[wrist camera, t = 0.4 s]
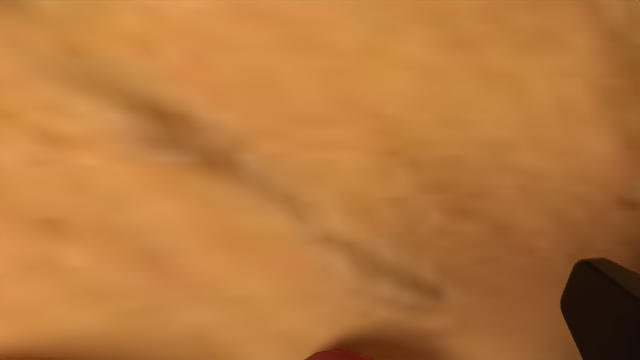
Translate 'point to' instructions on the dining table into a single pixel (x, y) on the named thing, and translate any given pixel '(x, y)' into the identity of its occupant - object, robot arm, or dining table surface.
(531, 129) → the dining table surface
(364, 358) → the onion
